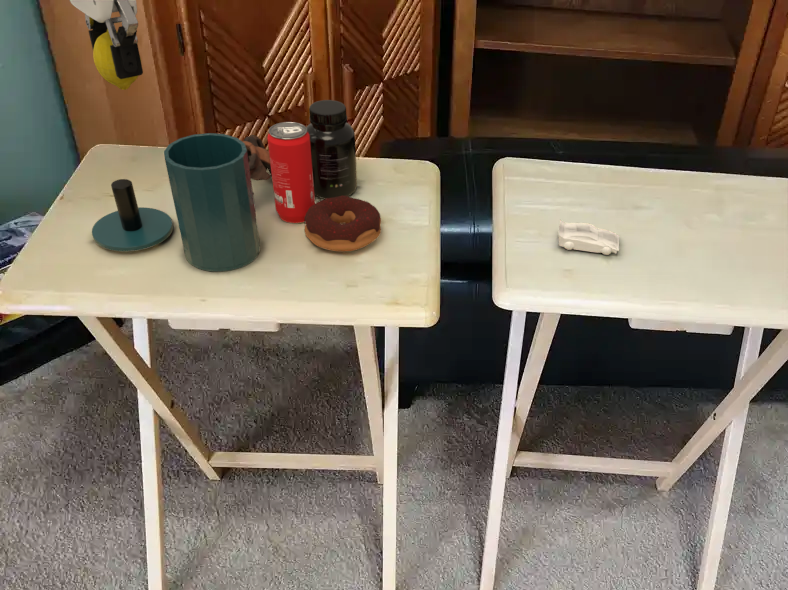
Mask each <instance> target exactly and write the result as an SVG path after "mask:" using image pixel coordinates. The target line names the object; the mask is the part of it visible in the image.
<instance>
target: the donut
mask: <svg viewBox="0 0 788 590" xmlns="http://www.w3.org/2000/svg"><path fill="white" fill-rule="evenodd" d="M304 219H305V222H304V223H305V225H304V229H303V230H304V233H305V236H306V237H307V239H308V240H309V241H310V242H312V243H313V244H314V245H315V246H316V247H318V248H321V249H323V250H324V249H325V250H328V251H333V252H352V251H357V250H360V249H362V248H365V247H367V246H368V245H370V244H372V243H373V242H374V241H376V240H377V239H378V238H379V237H380V235H381V233H382V226H381V225H382V218H381V214H380V212H379V210H378V209H377V207H375V205H373V204H371V202H369V201H367V200H363V199H360V198H354V197H352V196H351V197H350V196H339V197H334V198H327V199H325V198H323V199H322V200H319V201H317V202H315V204H314V205H312V206H311V207H310V208H309V209H308V211H307V213H306V215H305V218H304Z"/></svg>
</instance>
